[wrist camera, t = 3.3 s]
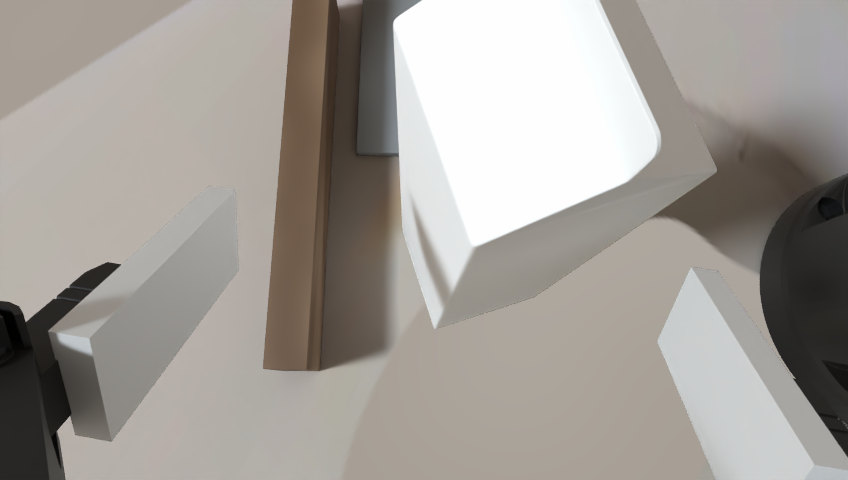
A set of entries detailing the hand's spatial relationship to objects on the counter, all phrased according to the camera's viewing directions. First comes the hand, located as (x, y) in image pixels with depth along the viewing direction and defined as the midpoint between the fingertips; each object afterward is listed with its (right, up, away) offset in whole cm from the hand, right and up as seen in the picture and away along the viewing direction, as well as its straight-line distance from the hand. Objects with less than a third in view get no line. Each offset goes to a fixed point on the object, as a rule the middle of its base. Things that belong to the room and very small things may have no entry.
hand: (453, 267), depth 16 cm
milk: (+2, -1, +15) cm, 15 cm away
